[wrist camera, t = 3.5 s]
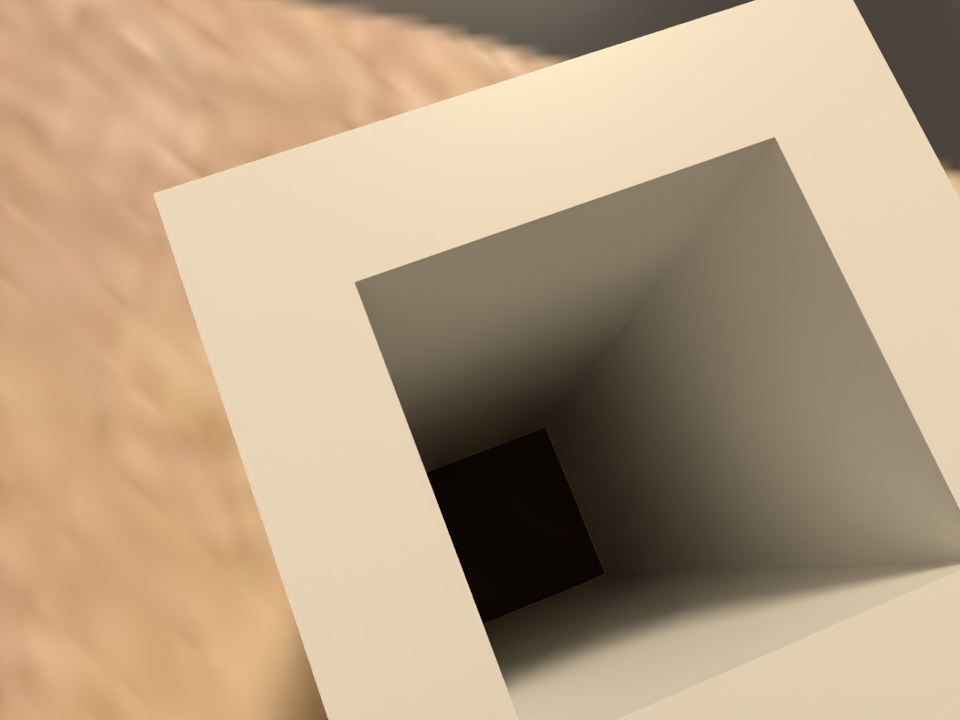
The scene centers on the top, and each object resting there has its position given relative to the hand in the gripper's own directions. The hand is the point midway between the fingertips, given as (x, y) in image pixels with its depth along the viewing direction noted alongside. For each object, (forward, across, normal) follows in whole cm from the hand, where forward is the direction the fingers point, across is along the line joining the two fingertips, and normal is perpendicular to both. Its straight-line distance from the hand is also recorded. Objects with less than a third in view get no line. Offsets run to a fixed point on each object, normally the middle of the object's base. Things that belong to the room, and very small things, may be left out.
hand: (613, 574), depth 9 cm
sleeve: (+7, 0, +5) cm, 9 cm away
